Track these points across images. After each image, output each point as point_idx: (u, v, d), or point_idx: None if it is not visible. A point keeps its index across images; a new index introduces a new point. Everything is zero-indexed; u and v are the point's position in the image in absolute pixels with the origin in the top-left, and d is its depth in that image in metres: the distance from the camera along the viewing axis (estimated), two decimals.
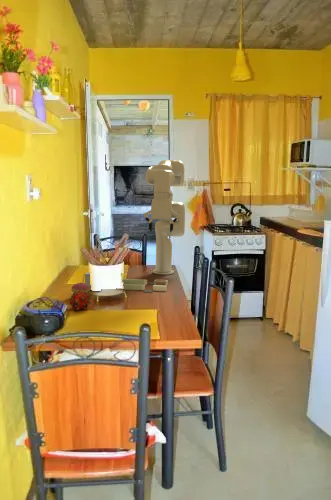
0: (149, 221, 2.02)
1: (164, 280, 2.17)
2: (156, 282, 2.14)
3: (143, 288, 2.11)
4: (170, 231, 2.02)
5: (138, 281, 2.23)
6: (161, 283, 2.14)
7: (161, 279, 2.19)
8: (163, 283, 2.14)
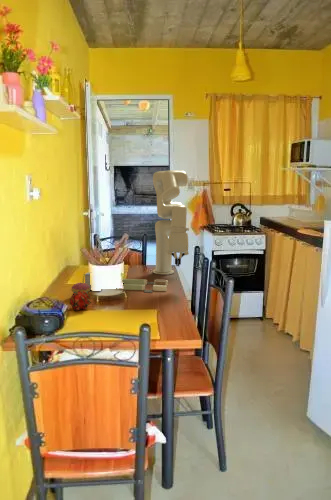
0: (175, 257, 2.12)
1: (164, 280, 2.17)
2: (156, 282, 2.14)
3: (143, 288, 2.11)
4: (178, 265, 2.13)
5: (138, 281, 2.23)
6: (161, 283, 2.14)
7: (161, 279, 2.19)
8: (163, 283, 2.14)
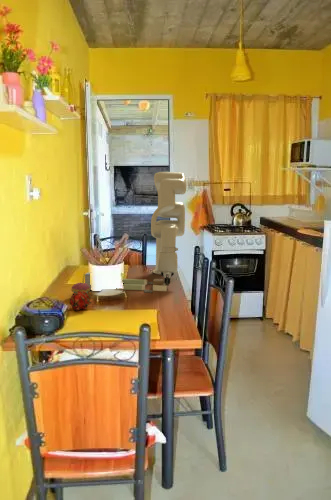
0: (164, 276, 2.15)
1: (162, 280, 2.17)
2: (154, 282, 2.15)
3: (143, 288, 2.11)
4: None
5: (138, 281, 2.23)
6: (159, 283, 2.14)
7: (159, 279, 2.19)
8: (160, 283, 2.14)
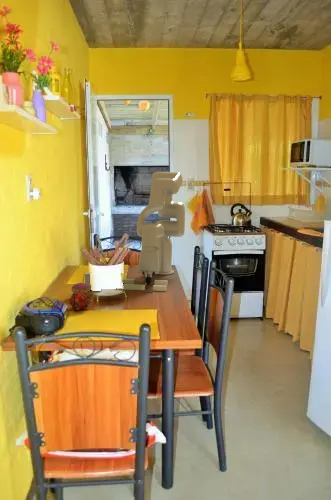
0: (145, 275, 2.15)
1: (143, 279, 2.18)
2: (135, 281, 2.15)
3: (143, 288, 2.11)
4: (148, 284, 2.16)
5: None
6: (140, 282, 2.15)
7: (141, 278, 2.20)
8: (141, 282, 2.15)
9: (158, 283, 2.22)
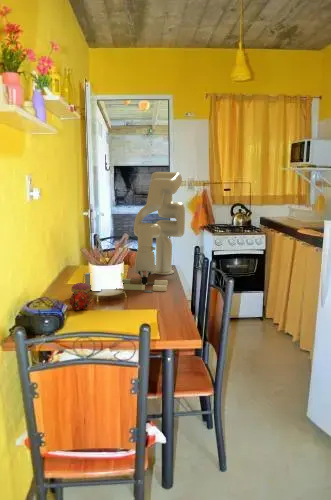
0: (141, 275, 2.15)
1: (139, 279, 2.18)
2: (131, 281, 2.15)
3: (143, 288, 2.11)
4: (144, 284, 2.16)
5: None
6: (136, 282, 2.15)
7: (136, 278, 2.20)
8: (137, 282, 2.15)
9: (158, 283, 2.22)
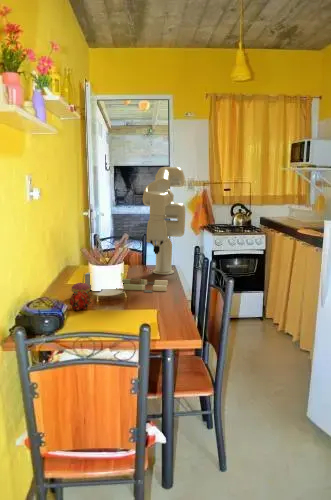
0: (153, 244, 2.13)
1: (139, 279, 2.18)
2: (131, 281, 2.15)
3: (143, 288, 2.11)
4: (156, 253, 2.14)
5: None
6: (135, 282, 2.15)
7: (136, 278, 2.20)
8: (137, 282, 2.15)
9: (158, 283, 2.22)
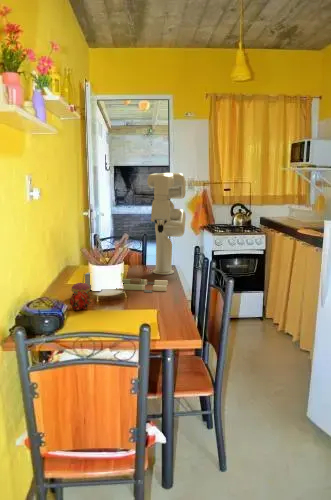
0: (157, 223, 2.25)
1: (139, 279, 2.18)
2: (131, 281, 2.15)
3: (143, 288, 2.11)
4: (160, 232, 2.25)
5: None
6: (135, 282, 2.15)
7: (136, 278, 2.20)
8: (137, 282, 2.15)
9: (158, 283, 2.22)
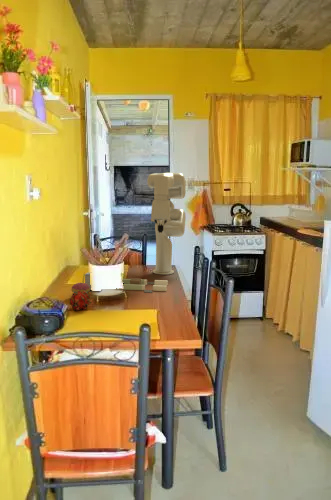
0: (158, 223, 2.25)
1: (139, 279, 2.18)
2: (131, 281, 2.15)
3: (143, 288, 2.11)
4: (160, 232, 2.25)
5: None
6: (135, 282, 2.15)
7: (136, 278, 2.20)
8: (137, 282, 2.15)
9: (158, 283, 2.22)
